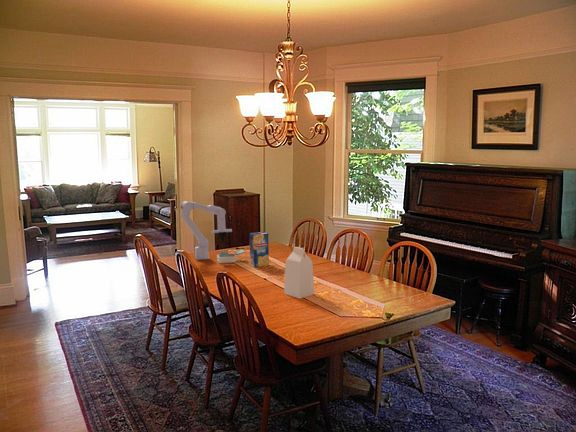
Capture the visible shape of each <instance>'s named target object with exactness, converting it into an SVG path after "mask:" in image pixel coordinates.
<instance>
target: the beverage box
mask: <svg viewBox="0 0 576 432" xmlns="http://www.w3.org/2000/svg"><path fill="white" fill-rule="evenodd" d="M269 254H270V253H269V233H268V232H266V231H260V232H259V231H257V232H250V233H249V265H250V266H251V267H253V268H257V267H263V266H269V264H270V263H269V262H270V261H269V260H270V259H269V258H270V257H269Z"/></svg>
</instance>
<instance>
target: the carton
mask: <svg viewBox="0 0 576 432" xmlns="http://www.w3.org/2000/svg"><path fill="white" fill-rule="evenodd" d="M216 260H217V262H218V264H229V263H237V255H236V254H235V253H228V256H227V257H219V254H216Z"/></svg>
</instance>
